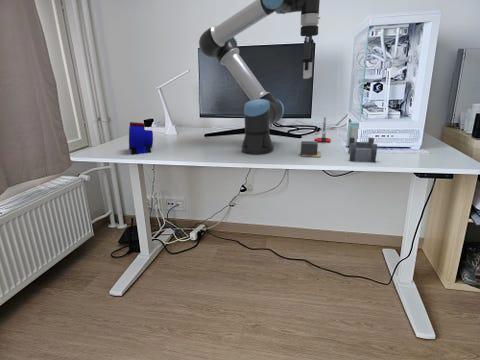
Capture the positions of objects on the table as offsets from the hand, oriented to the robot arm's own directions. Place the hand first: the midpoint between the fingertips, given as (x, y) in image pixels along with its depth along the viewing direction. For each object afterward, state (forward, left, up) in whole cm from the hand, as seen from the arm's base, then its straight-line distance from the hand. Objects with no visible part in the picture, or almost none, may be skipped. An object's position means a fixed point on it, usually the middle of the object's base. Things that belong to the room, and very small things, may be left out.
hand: (307, 77), depth 142 cm
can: (+23, +5, -33) cm, 40 cm away
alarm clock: (-80, -17, -33) cm, 88 cm away
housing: (+25, -12, -33) cm, 43 cm away
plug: (+3, -12, -32) cm, 34 cm away
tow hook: (+8, +16, -33) cm, 38 cm away
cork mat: (+4, -12, -33) cm, 35 cm away
